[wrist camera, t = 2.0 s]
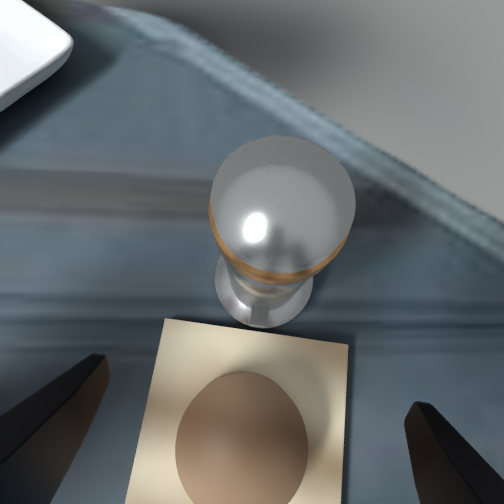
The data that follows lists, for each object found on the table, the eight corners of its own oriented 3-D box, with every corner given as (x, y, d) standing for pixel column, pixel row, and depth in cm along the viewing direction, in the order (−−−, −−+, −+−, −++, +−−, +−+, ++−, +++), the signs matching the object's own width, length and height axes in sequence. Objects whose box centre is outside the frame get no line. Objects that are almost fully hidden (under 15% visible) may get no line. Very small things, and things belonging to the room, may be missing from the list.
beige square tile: (333, 567, 18) (350, 609, 15) (122, 532, 18) (98, 568, 15) (344, 344, 21) (360, 344, 18) (168, 319, 21) (155, 314, 18)
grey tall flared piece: (304, 335, 21) (386, 318, 9) (209, 322, 21) (156, 286, 9) (312, 243, 23) (389, 122, 11) (225, 231, 23) (199, 98, 11)
